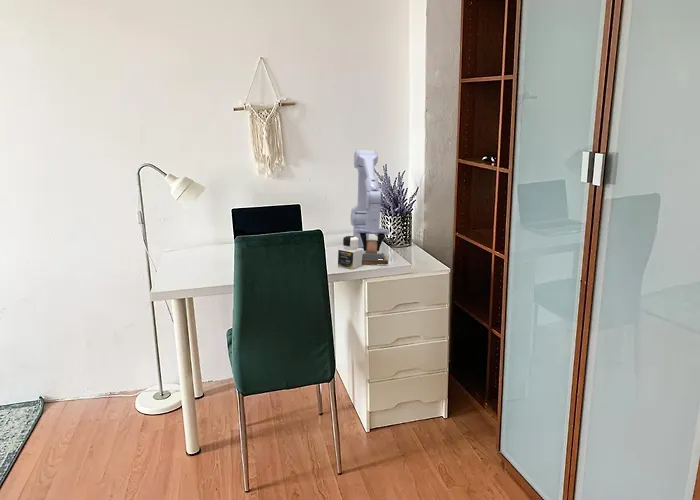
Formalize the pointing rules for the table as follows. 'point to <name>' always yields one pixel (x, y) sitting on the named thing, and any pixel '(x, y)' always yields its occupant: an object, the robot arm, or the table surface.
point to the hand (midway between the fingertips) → (371, 250)
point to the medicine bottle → (350, 253)
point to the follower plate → (371, 256)
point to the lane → (375, 261)
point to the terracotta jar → (371, 246)
